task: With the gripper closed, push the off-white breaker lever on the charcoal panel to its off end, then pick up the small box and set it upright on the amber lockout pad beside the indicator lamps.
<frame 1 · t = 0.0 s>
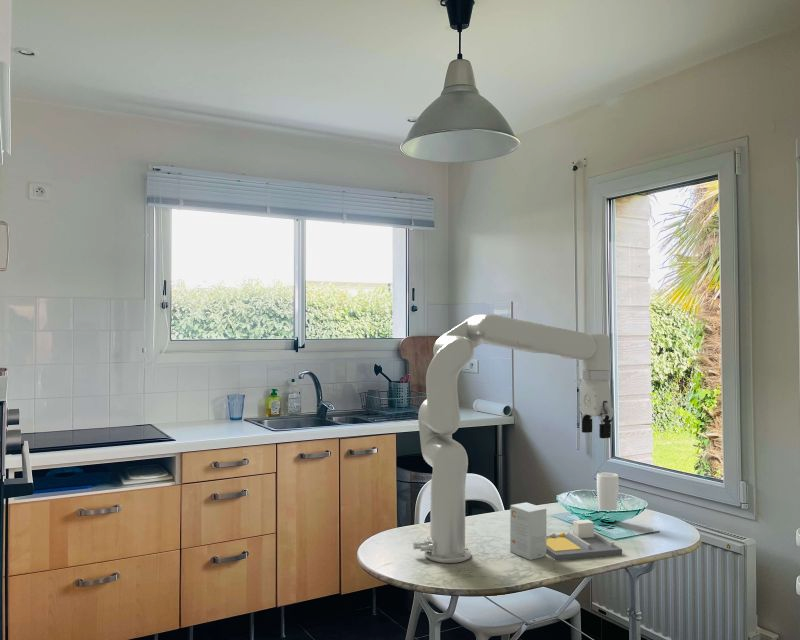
hand: (595, 435, 192), 31 cm above the table, tool pointing down, fingers open, 9 cm apart
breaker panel: (575, 548, 187), on the table
breaker lever: (583, 528, 193), point 4 cm above the table, slide at 0.0 cm
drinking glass: (607, 521, 213), on the table
small box: (528, 554, 182), on the table
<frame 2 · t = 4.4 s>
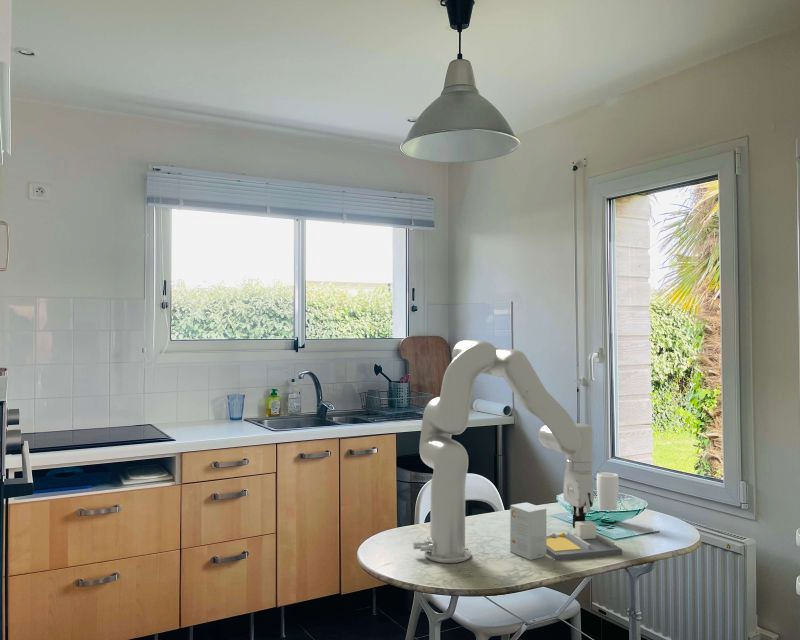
hand: (578, 528, 195), 3 cm above the table, tool pointing down, fingers closed
breaker lever: (585, 529, 192), point 4 cm above the table, slide at 1.1 cm, touching gripper
everything else where it was.
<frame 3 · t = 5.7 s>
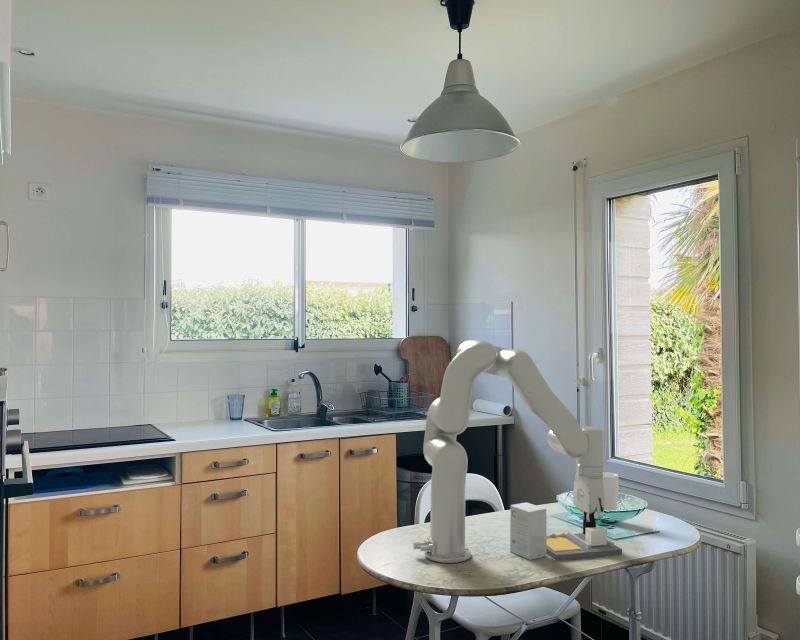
hand: (589, 534, 189), 3 cm above the table, tool pointing down, fingers closed
breaker lever: (596, 536, 186), point 4 cm above the table, slide at 7.0 cm, touching gripper
everything else where it was.
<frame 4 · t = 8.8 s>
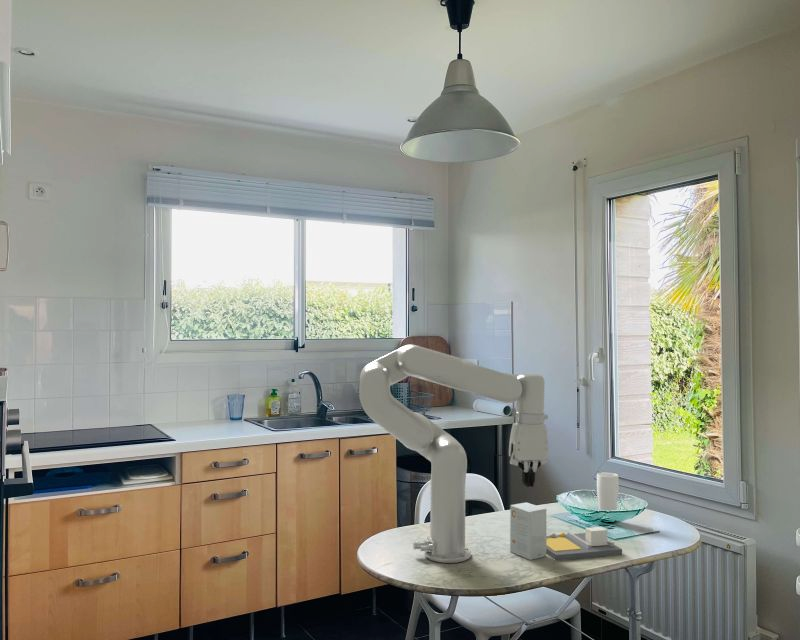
hand: (528, 485, 183), 19 cm above the table, tool pointing down, fingers closed
breaker lever: (596, 536, 186), point 4 cm above the table, slide at 7.1 cm
everything else where it was.
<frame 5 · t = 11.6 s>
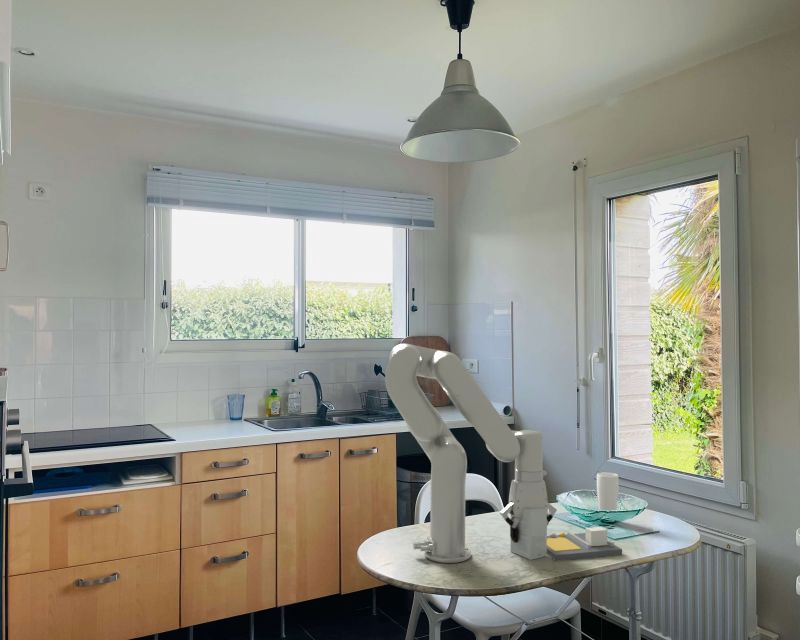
hand: (528, 539, 182), 4 cm above the table, tool pointing down, fingers closed on small box, 7 cm apart
small box: (528, 554, 182), on the table, touching gripper
everything else where it was.
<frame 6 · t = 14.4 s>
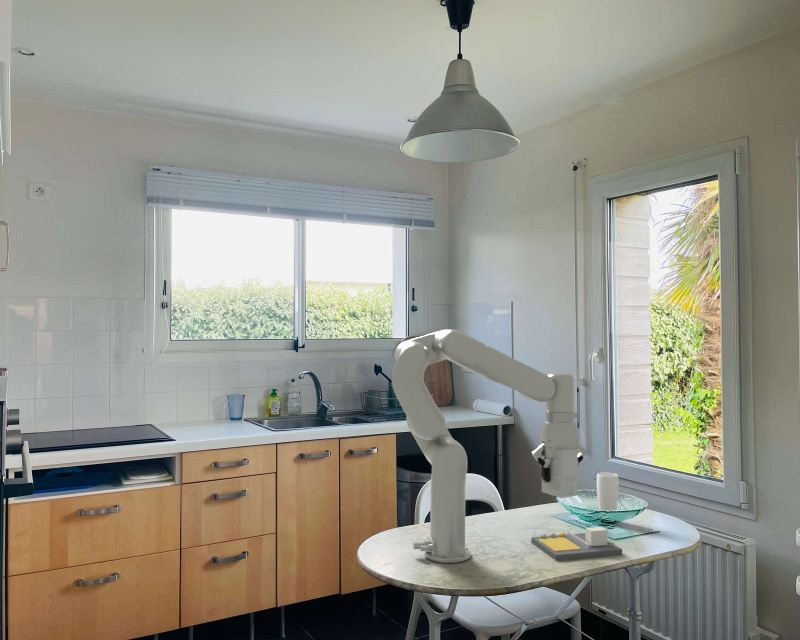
hand: (559, 479, 186), 20 cm above the table, tool pointing down, fingers closed on small box, 7 cm apart
small box: (559, 494, 186), point 15 cm above the table, touching gripper
everything else where it was.
when the fingers open (7 cm above the table, at t = 17.3 s): small box stays where it is, resting on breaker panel.
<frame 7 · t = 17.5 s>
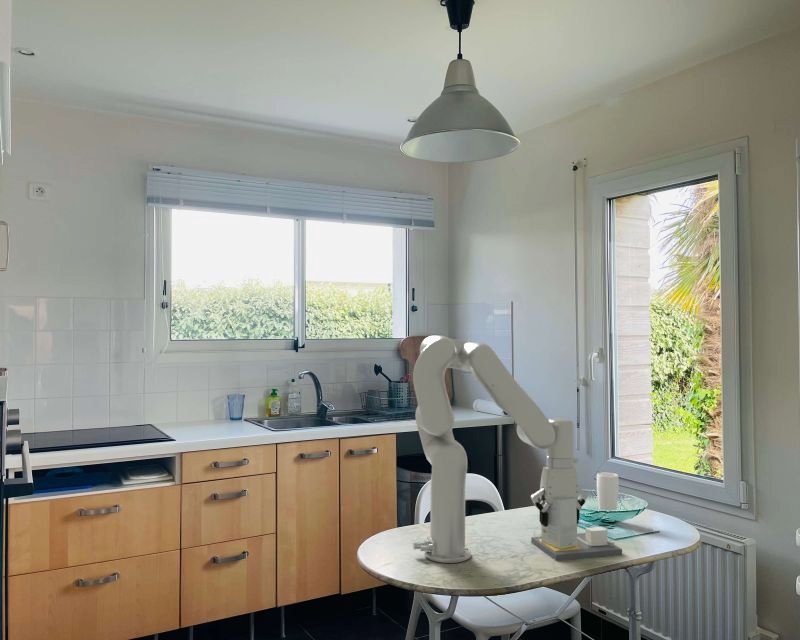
hand: (559, 524, 186), 7 cm above the table, tool pointing down, fingers open, 9 cm apart
small box: (559, 544, 186), point 2 cm above the table, touching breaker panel
everything else where it was.
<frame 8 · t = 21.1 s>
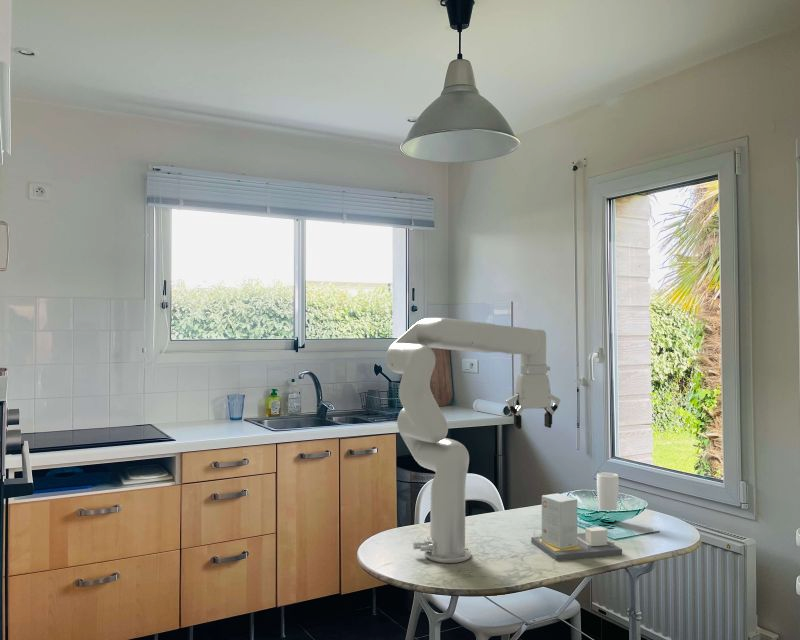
hand: (533, 427, 198), 32 cm above the table, tool pointing down, fingers open, 9 cm apart
nothing on the table moved.
at the end: breaker lever slide at 7.1 cm; small box 0.1 cm from the target spot on the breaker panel, point 1.5 cm above the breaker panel's base; small box tilted 0° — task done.
